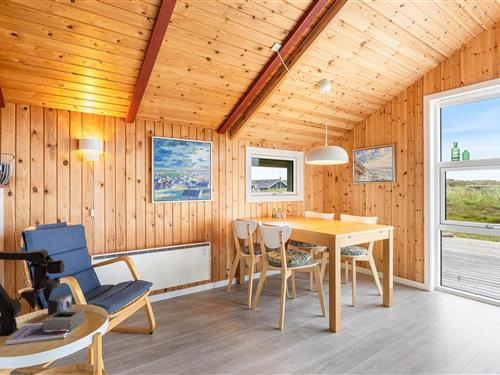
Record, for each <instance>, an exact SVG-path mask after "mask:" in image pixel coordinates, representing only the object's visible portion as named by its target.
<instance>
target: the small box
mask: <svg viewBox="0 0 500 375" xmlns="http://www.w3.org/2000/svg"><path fill="white" fill-rule="evenodd" d="M72 299H73V298H72V293H65V292H64V293H60V294H59V295H56V296H54V297H51V298H49V301H48V302H47V317H49V316H50V315H52V314H54V313H55V312H57V311H58V310H73V309H72V308H73V307H72V306H73V304H72V302H73V301H72Z"/></svg>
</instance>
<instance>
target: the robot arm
mask: <svg viewBox="0 0 500 375" xmlns="http://www.w3.org/2000/svg"><path fill="white" fill-rule="evenodd" d="M0 260H1V261H26V262H28V263H30V264H29V265H28V266H27V268H32V276H33V277H32V278H30V281H33V282H32V283H33V284H32V286H31V288H29V289H26V290H25V289H24V290H23V291H21V293H20V298H21V299H24V300H25V301H26V302H27V303H28V304H29V306H30V307H31V309H32V310H35V309H36V305H37V299H38V298H39V295H38V294H39V292H40V291H42V293H43V297H44V301H45V302H46V303H48V301H49V299H51V298H50V297H51V296H52V295H51V294H52V292H53V290H55V289H57V288H58V287H59V286H58V285H60V284H61V277H58V276H56V277H54V278H50V275H53V274H54V275H55V274H56V275H57V274H63V273H64V271H65V263H64V262H63V259H57V260H54V259H53V258H52V257H51V256H50V255H49V252H48V250H46V249H37V250H31V251H30V250H29V251H13V250H12V251H8V250H7V251H6V250H0ZM48 274H49V275H48ZM22 305H23V304H22V303H21V301H20V300H19V299H18V298H15V299H13V298H12V297H11V296H10V295H9V294H8V293H7V291H6V289H5V288H4V286H3V285H2V284H1V283H0V336H1V337H2V336H10V335H12V334H14V333H15V332H17V331H18V330H19V328H18V326H17V319H16V317H18V315H19V314H20V313H21V311H22V308H23V307H22Z"/></svg>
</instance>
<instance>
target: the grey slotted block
mask: <svg viewBox="0 0 500 375" xmlns="http://www.w3.org/2000/svg"><path fill="white" fill-rule="evenodd" d="M85 314H86V310H85V309H72V310H58V311H57V312H55V313H54V314H52V315H50V316H49V317H48V316H47V317H46V318H44V319H42V331H43V330H61V329H67V330H69V332H68V333H71V332H72V331H73V330H75V329H76V328H78V327H79V326H80V325H82V323H85V321H86V317H85V316H86V315H85Z"/></svg>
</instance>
